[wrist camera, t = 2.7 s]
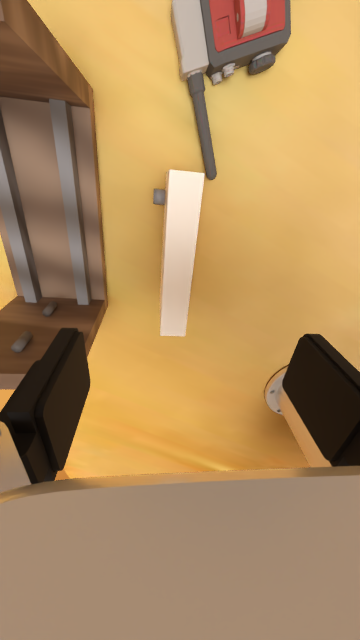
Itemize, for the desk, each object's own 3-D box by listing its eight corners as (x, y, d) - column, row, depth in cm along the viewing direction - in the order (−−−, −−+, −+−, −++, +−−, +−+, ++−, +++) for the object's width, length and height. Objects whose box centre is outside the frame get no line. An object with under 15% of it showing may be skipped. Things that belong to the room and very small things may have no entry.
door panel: (178, 297, 32) (185, 336, 24) (151, 296, 31) (148, 335, 24) (190, 174, 25) (204, 173, 17) (155, 171, 24) (153, 167, 17)
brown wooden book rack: (107, 306, 31) (73, 389, 19) (26, 302, 30) (-66, 388, 18) (92, 88, 21) (-9, -48, 8) (-34, 71, 20) (-368, -116, 7)
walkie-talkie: (131, -169, 15) (200, 182, 25) (122, -284, 11) (207, 183, 22) (268, -227, 15) (282, 157, 25) (307, -370, 11) (304, 153, 21)
